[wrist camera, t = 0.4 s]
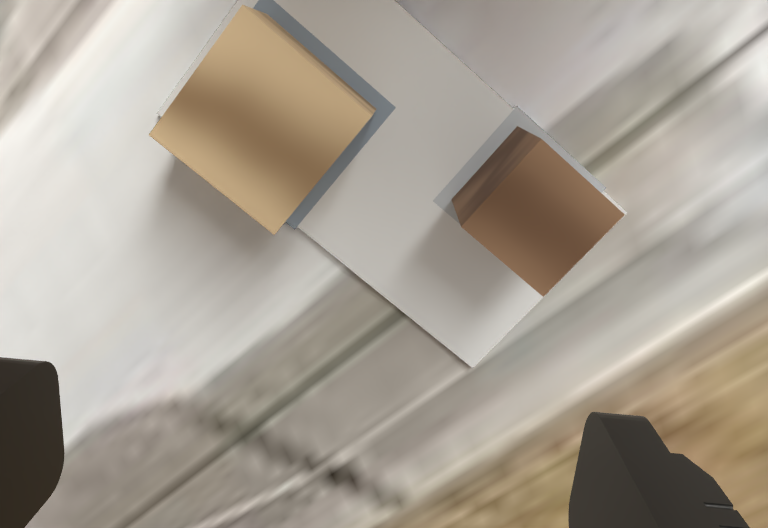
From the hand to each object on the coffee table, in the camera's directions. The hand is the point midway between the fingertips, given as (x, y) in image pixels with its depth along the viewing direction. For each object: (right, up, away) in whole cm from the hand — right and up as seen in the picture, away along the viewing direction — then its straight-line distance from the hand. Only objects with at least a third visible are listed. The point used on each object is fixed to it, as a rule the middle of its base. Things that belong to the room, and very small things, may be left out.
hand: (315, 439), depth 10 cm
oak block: (-4, +10, +23) cm, 25 cm away
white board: (+2, +8, +24) cm, 25 cm away
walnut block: (+8, +6, +24) cm, 26 cm away
